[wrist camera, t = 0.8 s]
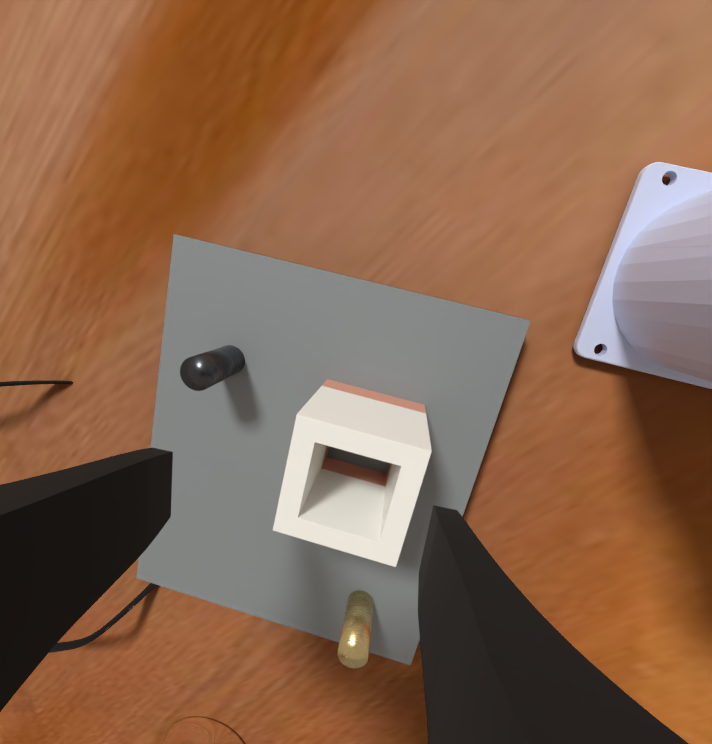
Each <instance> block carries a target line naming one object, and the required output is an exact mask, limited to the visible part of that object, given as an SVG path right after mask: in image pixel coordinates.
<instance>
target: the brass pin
mask: <svg viewBox="0 0 712 744" xmlns="http://www.w3.org/2000/svg"><path fill="white" fill-rule="evenodd" d="M373 608H374V600H373V598H372V596H371V595H370V594H369V593H367V592H365V591H361V590H357V591H354V592H352V593H351V594H350V595H349V596H348V600H347V605H346V610H345V615H344V621H343V626H342V631H341V636H340V641H339V647H338V652H337V655H338V658H339V660H340V662H341V663H342V664H344V665H345V666H347V667H350V668H360V667H363V666H364V665H365V664H366V663H367V661H368V655H369V646H370V636H371V627H372V618H373Z"/></svg>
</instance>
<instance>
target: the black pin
mask: <svg viewBox="0 0 712 744" xmlns="http://www.w3.org/2000/svg"><path fill="white" fill-rule="evenodd" d="M244 364H245V358H244V355H243V353H242V351H241V350H240V349H239V348H237V347H235V346H232V345H227V346H223V347H220V348H217V349H214V350H211V351H208V352H204V353H201V354H198V355H195V356H192V357H189V358H187V359H186V360H184V361H183V363H182V365H181V367H180V376H181V379H182V381H183V383H184V384H185V385H186V386H187V387H188V388H190V389H192V390H195V391H202V390H205V389H207V388H209V387H211V386H213V385H215V384H217V383H219V382H221V381H223V380H225V379H227V378H229V377H231V376H233V375H235V374H237V373H239V372H240V371H241V370H242V369H243V367H244Z"/></svg>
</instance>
